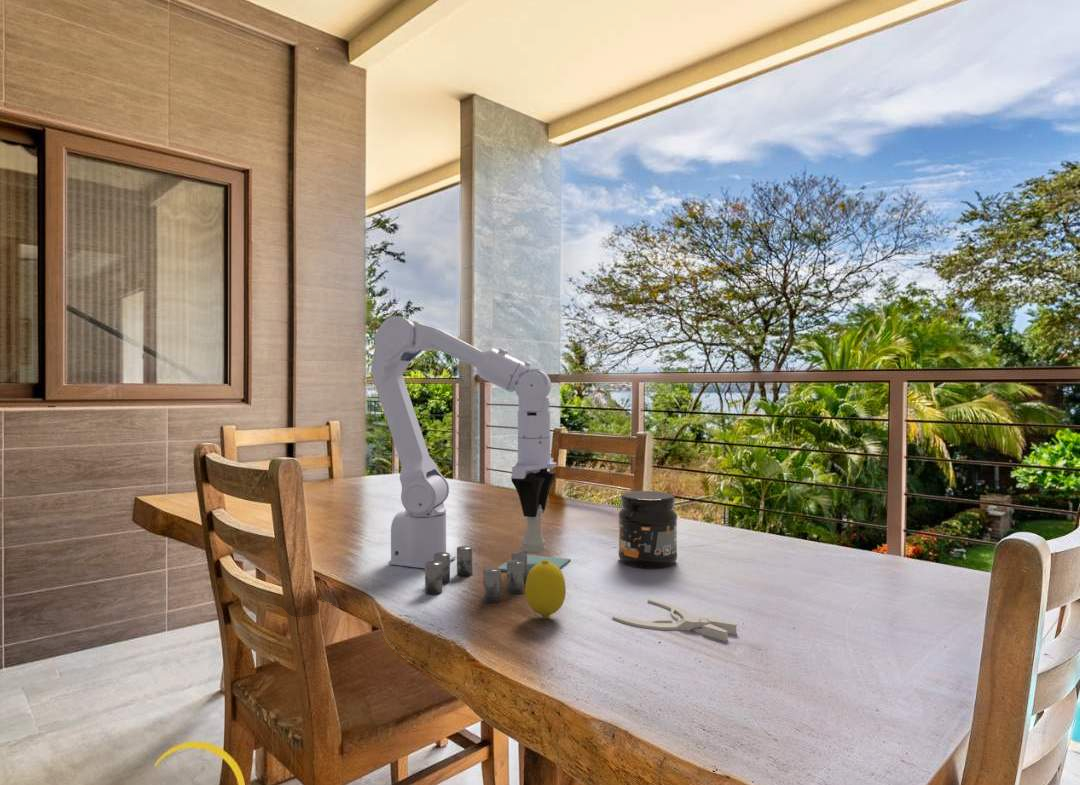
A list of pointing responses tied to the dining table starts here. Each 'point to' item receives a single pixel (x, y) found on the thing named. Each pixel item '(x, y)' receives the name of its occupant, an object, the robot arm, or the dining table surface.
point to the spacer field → (440, 573)
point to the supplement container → (647, 529)
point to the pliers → (685, 622)
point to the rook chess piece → (533, 534)
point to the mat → (534, 560)
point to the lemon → (545, 588)
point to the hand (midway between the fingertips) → (534, 514)
